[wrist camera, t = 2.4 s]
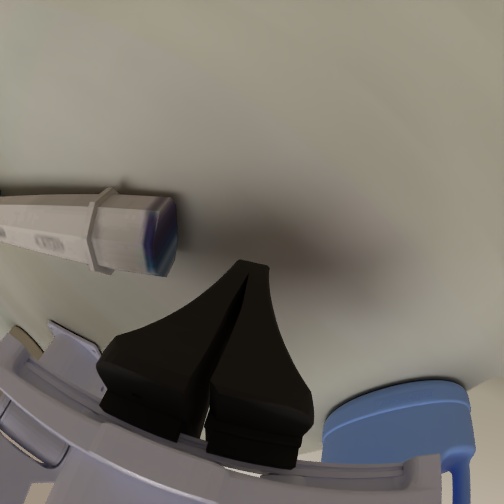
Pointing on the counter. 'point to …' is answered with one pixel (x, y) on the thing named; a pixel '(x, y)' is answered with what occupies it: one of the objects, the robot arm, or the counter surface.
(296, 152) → the counter surface
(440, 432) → the water jug
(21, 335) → the travel mug
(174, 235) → the electric toothbrush
